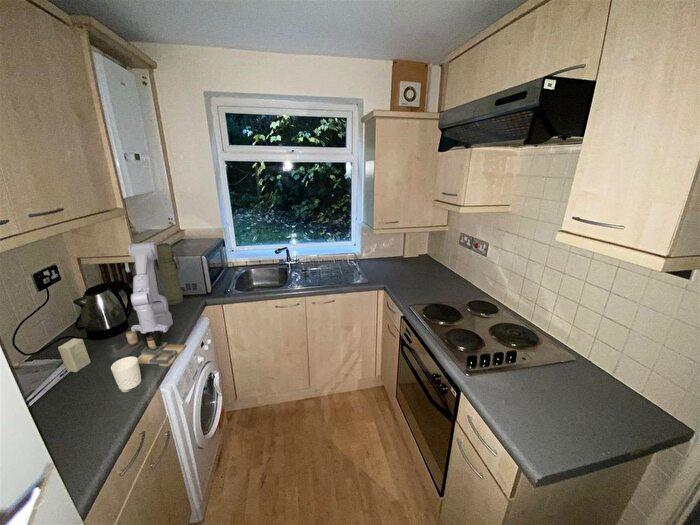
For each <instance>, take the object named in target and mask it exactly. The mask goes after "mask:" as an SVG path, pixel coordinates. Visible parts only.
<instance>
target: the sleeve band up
mask: <svg viewBox="0 0 700 525" xmlns="http://www.w3.org/2000/svg"><path fill="white" fill-rule="evenodd" d="M151 334H152V333H150V335H148V336H147V337H146V339H147V342H148V346H149V350H151V351H153V350H156V349H158V348H159V346H158V347H156V345H155V342H154V339H153V338H152V336H151Z"/></svg>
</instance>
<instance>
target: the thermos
mask: <svg viewBox="0 0 700 525" xmlns="http://www.w3.org/2000/svg"><path fill="white" fill-rule="evenodd" d="M156 248H157V254H158V258H157V259H155V260H154V267H155V271H157V272H159V275H160V278H161V280H162V281H161V282H162V284H163V289H164V295H163V296H165V297H166V300H167V303H168V306H176V305H179V304H182V303H183V302H184V296H183V295H184V294H183V290H182V288H181V285H180V280H179V274H178V273H179V270H180V261H179V257H178V253H177V252H176V251H173V248H172V246H171V244H170V243H167V242H163V243H159V244H157V245H156ZM174 256H175V257H174Z"/></svg>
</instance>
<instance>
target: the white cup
mask: <svg viewBox="0 0 700 525" xmlns="http://www.w3.org/2000/svg"><path fill="white" fill-rule="evenodd" d="M137 358H138V357H136V356H126V357H121V359H118V360H116V361H115V362H113V363H112V365H111V367H110V370H111V373H112V375H113V378H114V380H115V383H116V384H117V385H118V389H119V391H120V392H122V393H123V392H124V393H126V392H129V390H131V389H133V388H136V387H137V386H138V387H139V386H141V382H142V374H141V370H140V369H141V368H140V363H138V359H137Z"/></svg>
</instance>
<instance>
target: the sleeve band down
mask: <svg viewBox="0 0 700 525" xmlns="http://www.w3.org/2000/svg"><path fill="white" fill-rule="evenodd" d="M125 337H126V340H127V344H129V346H130V347H132V346H136V345H138V344H139V341H140V340H139V339H138V338H139V337H138V336H137V331H132V330H129V331H127V332H125Z"/></svg>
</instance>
